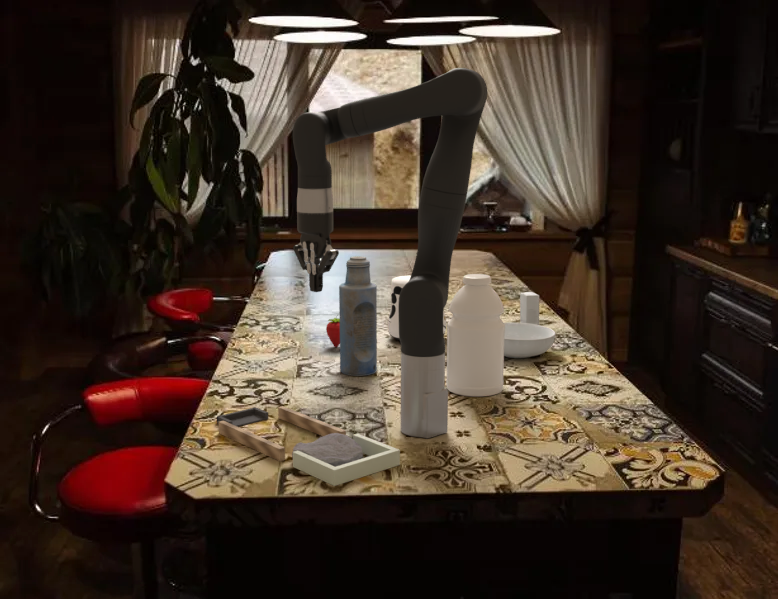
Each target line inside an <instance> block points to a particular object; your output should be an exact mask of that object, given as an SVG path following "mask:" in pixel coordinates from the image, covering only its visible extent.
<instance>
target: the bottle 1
mask: <svg viewBox="0 0 778 599" xmlns="http://www.w3.org/2000/svg"><path fill="white" fill-rule="evenodd" d="M370 266H371V264H370V260H369V259H367V257H365V256H359V255H358V256H357V255H355V256H350V257H349V259H348V260H347V261H346V274H345V280H344V282H343V283H341V284H339V287H338V296H339V298H338V300H339V313H338V315H339V319H340V344H339V361H340V362H339V368H340V370H339V371H340V372H341V373H342V374H344V375H347V376H353V377H354V376H355V377H357V376H358V377H360V376H362V377H363V376H370V375H372V374H375V373H377V370H378V365H377V364H378V362H377V361H378V359H377V358H378V357H377V356H378V349H377V348H378V347H377V345H378V337H377V332H378V331H377V329H378V328H377V324H378V320H377V319H378V318H377V312H378V311H377V310H378V309H377V304H378V300H377V299H378V298H377V297H378V296H377V295H378V292H377V288H378V286H377V285H376V283H373V282H372V281H371V280H372V279H371V271H370V268H371V267H370Z"/></svg>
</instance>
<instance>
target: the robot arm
mask: <svg viewBox="0 0 778 599" xmlns="http://www.w3.org/2000/svg"><path fill="white" fill-rule="evenodd" d="M487 98H488V86H487V83H486V81H485V79H484V77H483V76H482V75H481V74H480V73H479V72H477V71H475V70H473V69H469V68H466V67H457V68H456V67H455V68H452V69H450V70H448V71H447V72H446V73H443V74H441V75H438V76H437V77H434V78H431V79H430V80H428V81H425V82H423V83H420V84H418V85H414V86H412V87H411V86H410V87H409V88H405V89H401V90H397V91H393V92H388V93H383V94H378V95H375V96H369V97H365V98H363V99H358V100H354V101H351V102H347V103H344V104H342V105H341V106H340V107H339V106H338V107H335V108H331V109H327V110H322V111H315V112H313V111H309V112H307V111H306V112H304V113H301V114H299V116H298V117H297V118H296V119H295V122H294V124H293V128H292V143H293V148H294V154H295V160H296V162H297V197H296V212H297V213H296V215H297V216H296V218H297V219H296V223H297V225H296V226H297V228H296V229H297V230H296V231H298V233H299V234H301V235H300V239H299V241H300V242H299V243H297V244H295V245H293V246H292V247H293V251H294V253H295V255H296V258H297V260H298V263H299V265H300V267H301V268H302V270H303V271H304V270H306V273H307V274H309V276H308V277H309V278H308V279H309V280H308V281H309V291H310V292H313V293H320V292H322V291H323V287H324V274H325V273H327V272H328V273H329V272H330V271H331V269H332V267H333V266H334V263H335V261H336V260H337V258H338V256H339V254H340V252H339V250H338V249H334V248H333V247H332V240H331V236H330V235H331V233H332V232H334V197H333V188H332V187H333V182H332V181H333V179H332V178H333V177H332V174H333V173H332V165H331V163H330V161H329V160H328V158H327V148H326V147H327V145H331V144H335V143H338V142H341V141H344V140H346V139H350V138H357V137H361V136H365V135H366V136H367V135H370V134H374V133H378V132H381V131H385V130H388V129H391V128H393V127H396V126H397V127H398V125H399V126H400V125H402V124H404V123H407V122H411V121H416V120H419V119H424V118H430V117H439V116H440V117H441V121H440V129H439V135H438V139H437V142H436V145H435V148H434V149H433V153H432V154H431V157H430V160H429V163H428V165H427V167H426V171H425V174H424V177H423V180H422V186H421V191H420V196H419V202H418V211H417V229H418V230H417V234H418V236H417V237H418V239H417V240H418V241H417V251H416V256H415V261H414V264H413V268H412V272H411V277H410V280H409V282H407V283H406V284H405V285H404V287H403V288H402V290H401V292H400V295H399V339H400V340H399V342H400V431H401V433H402V434H403V435H407V436H409V437H415V438H424V439H430V438H433V437H436V436H440V435H442V434H443V435H444V434H446V433H448V424H449V423H448V422H449V421H448V417H449V415H448V414H449V411H448V410H449V390H448V389H447V387H446V388H445V384H446V379H445V377H446V372H445V371H446V339H445V334H444V335H443V309H445V308H446V305H447V303H448V300H449V287H450V275H451V265H452V258H453V253H454V248H455V245H456V242H457V239H458V235H459V232H460V228H461V225H462V219H463V215H464V212H465V208H466V207H465V206H466V202H467V198H468V197H467V196H468V190H469V185H470V178H471V170H472V161H473V152H474V145H475V140H476V136H477V133H478V132H477V131H478V128H479V125H480V122H481V118H482V115H483V113H484V109H485V105H486V102H487Z"/></svg>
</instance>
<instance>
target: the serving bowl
mask: <svg viewBox="0 0 778 599" xmlns="http://www.w3.org/2000/svg"><path fill="white" fill-rule="evenodd" d="M504 323H505V337H504V357H505V358H510V359H511V358H514V359H525V358H530V357H535V356H539V355H542V354H544V353H545V352H547V351H548V350H550V348H551V347H553V344H554V342H555V338H556V331H555V330H553V329H552V328H550V327H547V326H544V325H540V324H539V325H536V324H528V323H520V322H504Z"/></svg>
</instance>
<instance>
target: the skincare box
mask: <svg viewBox="0 0 778 599" xmlns="http://www.w3.org/2000/svg"><path fill="white" fill-rule="evenodd" d="M519 304H520V305H519V307H520V308H519V323H528V324H536V325H540V295H539V294H537V293H535V292H534V291H526V292H525V291H523V292H519Z"/></svg>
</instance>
